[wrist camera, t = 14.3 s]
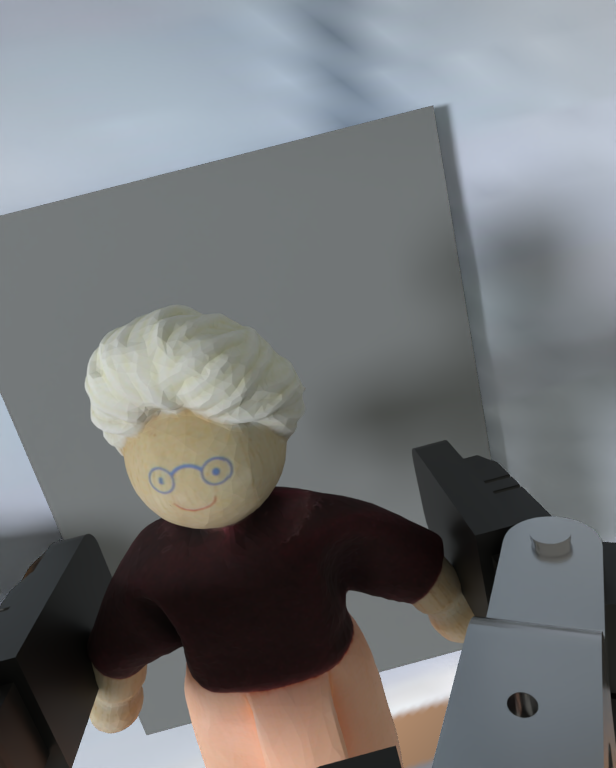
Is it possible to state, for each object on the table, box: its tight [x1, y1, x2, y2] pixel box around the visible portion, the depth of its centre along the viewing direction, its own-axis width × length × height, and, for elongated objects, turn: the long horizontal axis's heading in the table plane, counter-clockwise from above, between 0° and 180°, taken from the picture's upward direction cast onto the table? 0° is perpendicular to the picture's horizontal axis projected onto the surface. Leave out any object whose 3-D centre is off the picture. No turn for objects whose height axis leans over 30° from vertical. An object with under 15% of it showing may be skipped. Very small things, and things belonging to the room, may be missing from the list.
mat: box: [0, 106, 491, 735], centre depth 18 cm, size 14×18×1 cm
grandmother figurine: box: [85, 305, 475, 768], centre depth 10 cm, size 8×4×13 cm
